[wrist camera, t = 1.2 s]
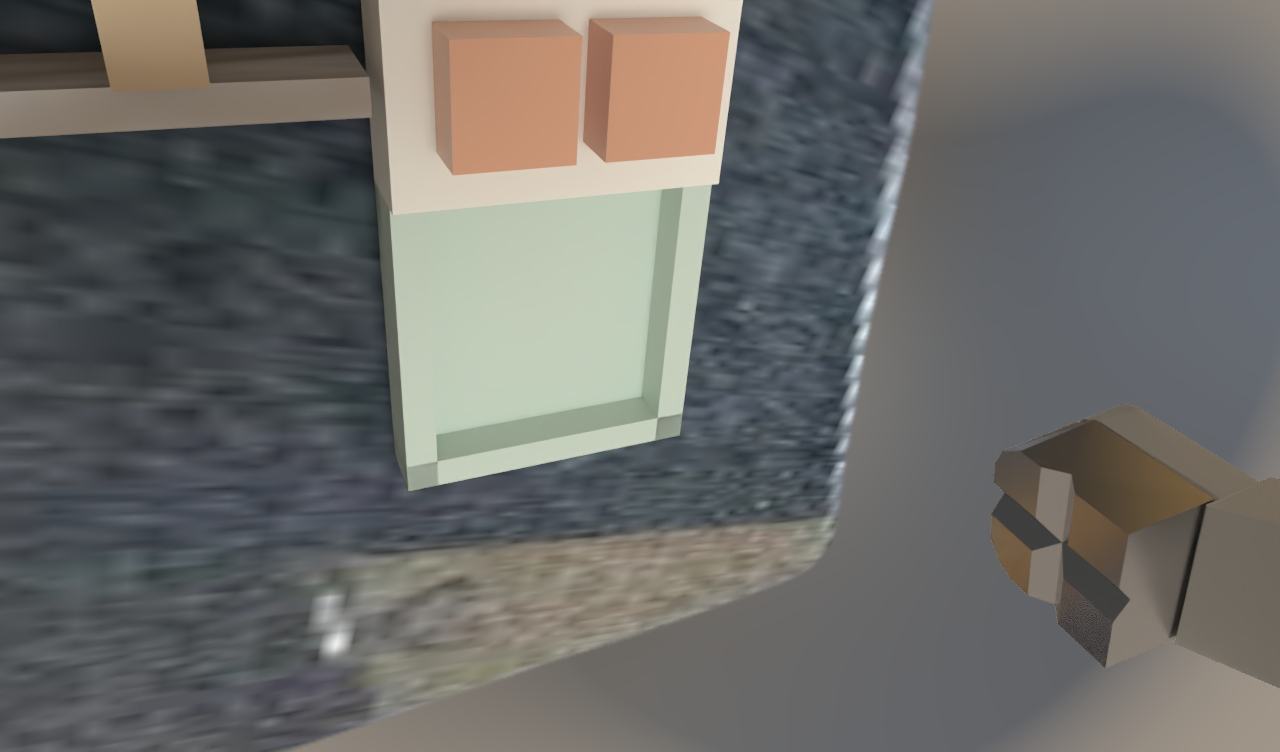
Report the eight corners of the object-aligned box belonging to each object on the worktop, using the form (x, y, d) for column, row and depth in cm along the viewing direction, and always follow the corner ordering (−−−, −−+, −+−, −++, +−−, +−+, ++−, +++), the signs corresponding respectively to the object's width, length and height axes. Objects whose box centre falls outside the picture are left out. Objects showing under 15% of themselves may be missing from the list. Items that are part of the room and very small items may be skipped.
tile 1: (431, 21, 28) (449, 39, 27) (559, 19, 30) (582, 36, 28) (436, 152, 30) (452, 175, 29) (555, 143, 32) (576, 164, 30)
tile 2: (589, 19, 30) (613, 34, 29) (701, 16, 32) (730, 32, 30) (583, 141, 32) (605, 162, 31) (688, 134, 34) (714, 153, 32)
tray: (374, 180, 33) (389, 208, 31) (683, 155, 38) (712, 178, 36) (394, 453, 40) (408, 491, 38) (655, 404, 44) (679, 435, 42)
